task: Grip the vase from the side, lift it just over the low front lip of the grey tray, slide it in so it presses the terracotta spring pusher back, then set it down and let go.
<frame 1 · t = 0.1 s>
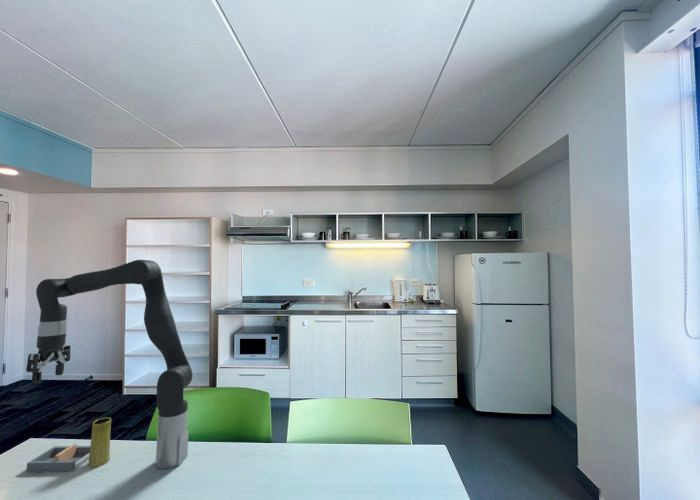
hand: (48, 378, 110), 29 cm above the table, tool pointing down, fingers open, 8 cm apart
grey tray: (62, 462, 108), on the table
vase: (98, 462, 108), on the table
pusher: (65, 455, 108), point 3 cm above the table, slide at 0.0 cm
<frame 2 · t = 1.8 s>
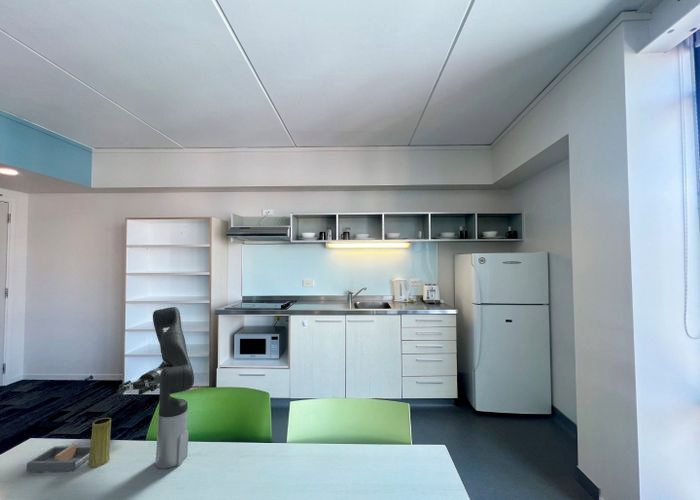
hand: (128, 392, 124), 19 cm above the table, tool horizontal, fingers open, 8 cm apart
nothing on the table moved.
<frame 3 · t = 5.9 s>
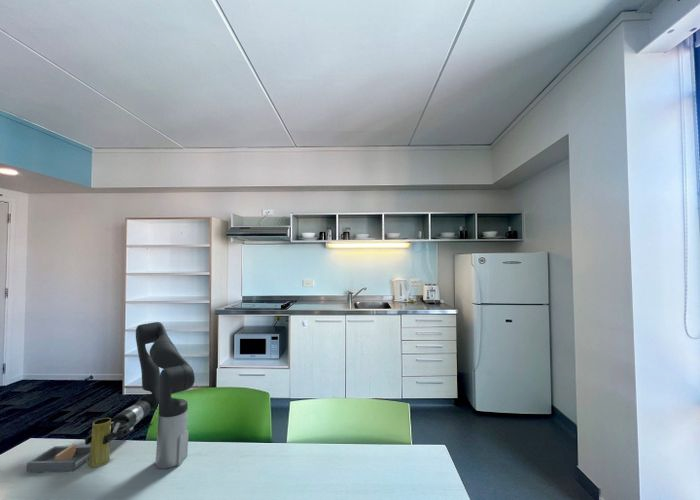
hand: (95, 441, 107), 8 cm above the table, tool horizontal, fingers closed on vase, 5 cm apart
vase: (98, 462, 108), on the table, touching gripper
everything else where it was.
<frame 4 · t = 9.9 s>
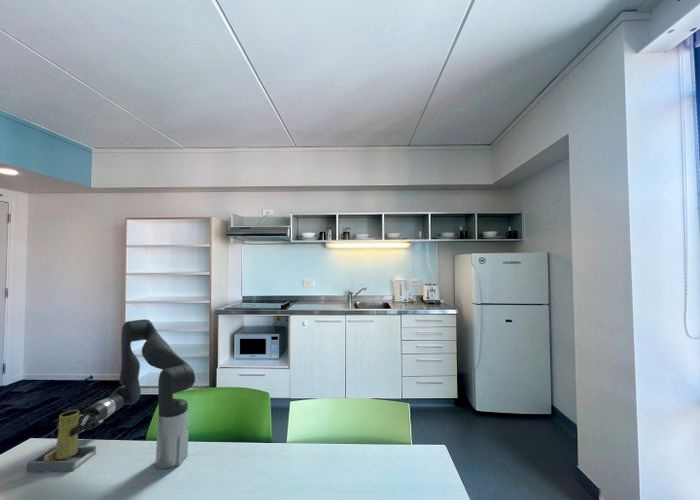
hand: (61, 433, 106), 11 cm above the table, tool horizontal, fingers closed on vase, 5 cm apart
vase: (66, 455, 108), point 2 cm above the table, touching gripper, pusher
pusher: (55, 455, 108), point 3 cm above the table, slide at 3.6 cm, touching vase
when the fingers open (10 cm above the table, at t = 11.3 s): vase moves 1 cm, resting on grey tray, pusher.
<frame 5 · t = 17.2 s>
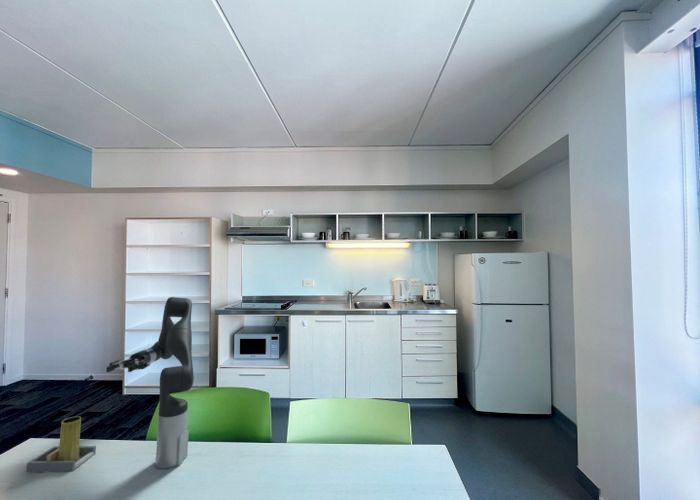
hand: (118, 369, 124), 28 cm above the table, tool horizontal, fingers open, 8 cm apart
vase: (67, 461, 108), resting on grey tray, pusher
pusher: (57, 455, 108), point 3 cm above the table, slide at 2.8 cm, touching vase
at the end: vase 0.2 cm from the target spot, resting on grey tray; vase tilted 0°; pusher slide at 2.8 cm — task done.
